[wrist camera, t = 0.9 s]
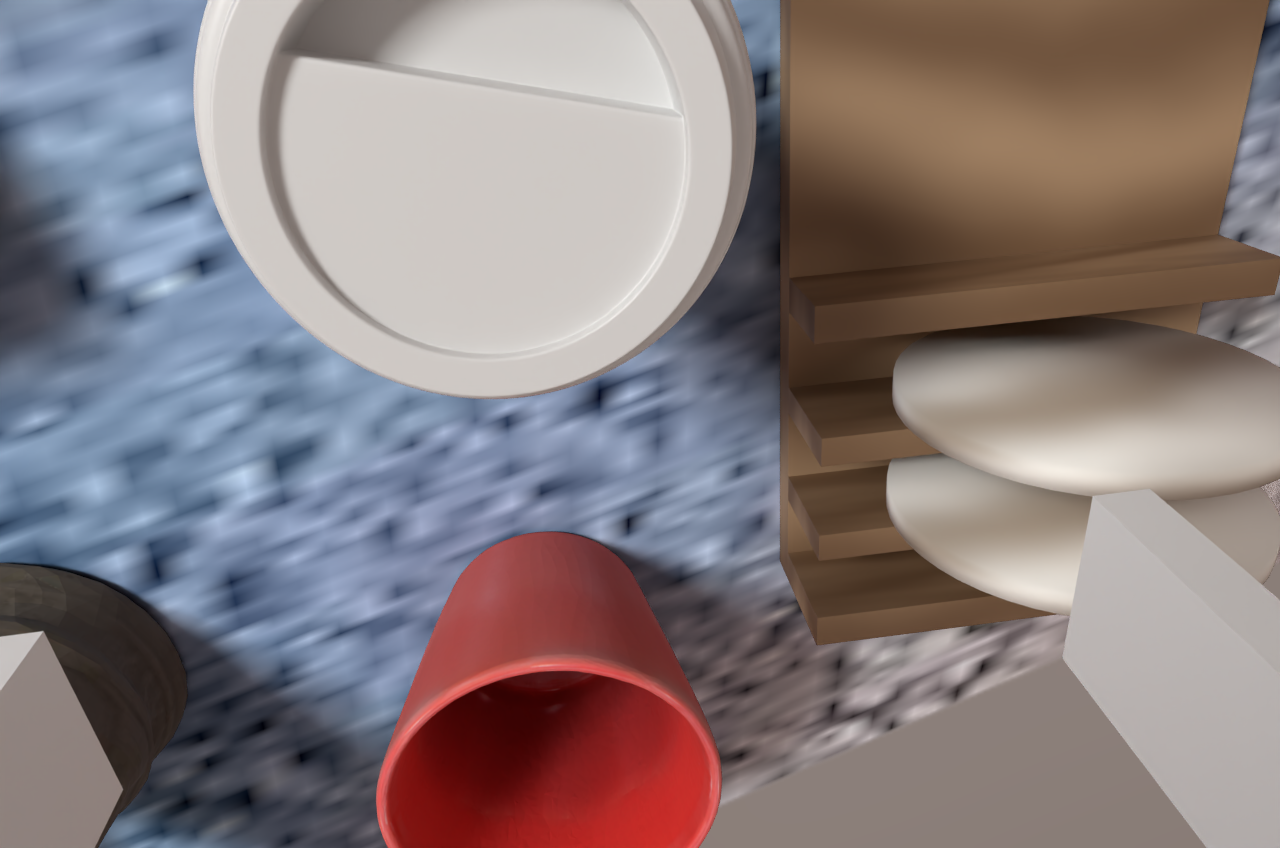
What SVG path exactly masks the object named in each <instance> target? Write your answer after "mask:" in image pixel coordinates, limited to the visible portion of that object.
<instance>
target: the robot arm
mask: <svg viewBox="0 0 1280 848" xmlns="http://www.w3.org/2000/svg"><path fill="white" fill-rule="evenodd" d="M1062 658H1063V660H1064V661H1065V662H1066V663H1067V665H1068V666H1069V668H1070V669H1071V670H1072V672H1073V673H1074V674H1075V676H1076V677H1077V678H1078V679H1079V681H1080V682H1081V683H1082V685H1083V686H1084V687H1085V689H1086V690H1087V691H1088V693H1089V694H1090V695H1091V696H1092V698H1093V699H1094V700H1095V702H1096V703H1097V704H1098V706H1099V707H1100V708H1101V710H1102V711H1103V712H1104V714H1105V715H1106V716H1107V718H1108V719H1109V720H1110V722H1111V723H1112V724H1113V725H1114V727H1115V728H1116V729H1117V731H1118V732H1119V733H1120V735H1121V736H1122V737H1123V739H1124V740H1125V741H1126V742H1127V744H1128V745H1129V746H1130V748H1131V749H1132V750H1133V752H1134V753H1135V754H1136V756H1137V757H1138V758H1139V759H1140V761H1141V762H1142V764H1143V765H1144V766H1145V767H1146V769H1147V770H1148V771H1149V773H1150V774H1151V775H1152V776H1153V778H1154V779H1155V780H1156V782H1157V783H1158V785H1159V786H1160V787H1161V788H1162V790H1163V791H1164V792H1165V794H1166V795H1167V796H1168V798H1169V799H1170V800H1171V802H1172V803H1173V804H1174V806H1175V807H1176V808H1177V810H1178V811H1179V812H1180V813H1181V815H1182V816H1183V817H1184V819H1185V820H1186V821H1187V823H1188V824H1189V825H1190V827H1191V828H1192V829H1193V830H1194V832H1195V833H1196V834H1197V836H1198V837H1199V838H1200V840H1201V841H1202V842H1203V844H1204V845H1205V846H1206V848H1280V600H1279V599H1278V598H1277V597H1276V596H1275V595H1273V594H1272V593H1271V592H1270V591H1268V589H1266V588H1265V587H1264V586H1263V585H1262V584H1261V583H1259V582H1258V581H1257V580H1256V579H1255V578H1254V577H1252V576H1251V575H1250V574H1249V573H1248V572H1247V571H1245V570H1244V569H1243V568H1242V567H1241V566H1239V565H1238V564H1237V563H1236V562H1235V561H1234V560H1232V559H1231V558H1230V557H1229V556H1228V555H1227V554H1225V553H1224V552H1223V551H1222V550H1221V549H1220V548H1218V547H1217V546H1216V545H1215V544H1214V543H1213V542H1211V541H1210V540H1209V539H1208V538H1207V537H1206V536H1204V535H1203V534H1202V533H1201V532H1200V531H1199V530H1197V529H1196V528H1195V527H1194V526H1193V525H1192V524H1190V523H1189V522H1188V521H1187V520H1186V519H1185V518H1183V517H1182V516H1181V515H1180V514H1179V513H1178V512H1176V511H1175V510H1174V509H1173V508H1172V507H1171V506H1169V505H1168V504H1167V503H1166V502H1165V501H1164V500H1162V499H1161V498H1160V497H1159V496H1158V495H1156V494H1155V493H1154V492H1153V491H1152V490H1151V489H1143V490H1135V491H1127V492H1120V493H1112V494H1104V495H1096V496H1093V498H1092V503H1091V508H1090V514H1089V519H1088V524H1087V529H1086V535H1085V540H1084V545H1083V551H1082V556H1081V561H1080V566H1079V572H1078V577H1077V582H1076V587H1075V593H1074V598H1073V603H1072V609H1071V614H1070V619H1069V624H1068V630H1067V635H1066V640H1065V646H1064V651H1063V656H1062ZM122 791H123V788H122V786H121V784H120V782H119V780H118V778H117V776H116V774H115V772H114V770H113V768H112V766H111V764H110V762H109V760H108V758H107V756H106V754H105V752H104V750H103V748H102V746H101V744H100V742H99V740H98V738H97V736H96V734H95V732H94V730H93V728H92V726H91V724H90V722H89V720H88V719H87V717H86V715H85V713H84V711H83V709H82V707H81V705H80V703H79V701H78V699H77V697H76V695H75V693H74V691H73V689H72V687H71V685H70V683H69V681H68V679H67V677H66V675H65V673H64V671H63V669H62V667H61V665H60V663H59V661H58V659H57V657H56V655H55V653H54V651H53V649H52V647H51V645H50V643H49V641H48V639H47V637H46V635H45V633H44V631H41V632H33V633H25V634H18V635H10V636H2V637H0V848H95V846H96V844H97V842H98V840H99V838H100V836H101V834H102V832H103V830H104V828H105V826H106V824H107V822H108V819H109V817H110V815H111V813H112V811H113V809H114V807H115V805H116V803H117V801H118V799H119V797H120V795H121V793H122Z"/></svg>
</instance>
